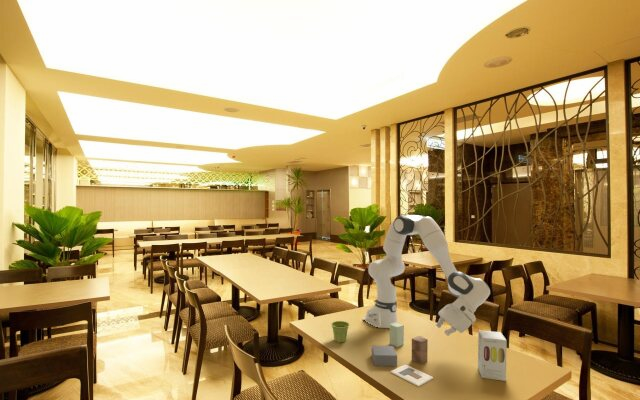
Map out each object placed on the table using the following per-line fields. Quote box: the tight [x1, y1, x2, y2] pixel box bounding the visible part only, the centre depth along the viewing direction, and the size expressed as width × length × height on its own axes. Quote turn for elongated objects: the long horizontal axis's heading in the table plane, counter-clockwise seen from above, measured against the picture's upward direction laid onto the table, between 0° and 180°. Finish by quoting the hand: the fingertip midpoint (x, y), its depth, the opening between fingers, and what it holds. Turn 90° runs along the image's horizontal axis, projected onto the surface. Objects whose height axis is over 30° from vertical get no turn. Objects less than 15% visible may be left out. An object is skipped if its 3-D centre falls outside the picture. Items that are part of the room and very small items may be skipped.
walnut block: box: [411, 335, 429, 365], centre depth 153 cm, size 5×5×10 cm
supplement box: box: [477, 329, 508, 382], centre depth 142 cm, size 10×9×17 cm
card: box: [390, 364, 434, 387], centre depth 140 cm, size 14×10×1 cm
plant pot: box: [330, 320, 350, 343], centre depth 175 cm, size 9×9×9 cm
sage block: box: [389, 322, 405, 348], centre depth 171 cm, size 5×5×10 cm
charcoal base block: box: [371, 345, 398, 367], centre depth 153 cm, size 10×10×5 cm
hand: (441, 330), depth 154 cm, fingers open, 8 cm apart
